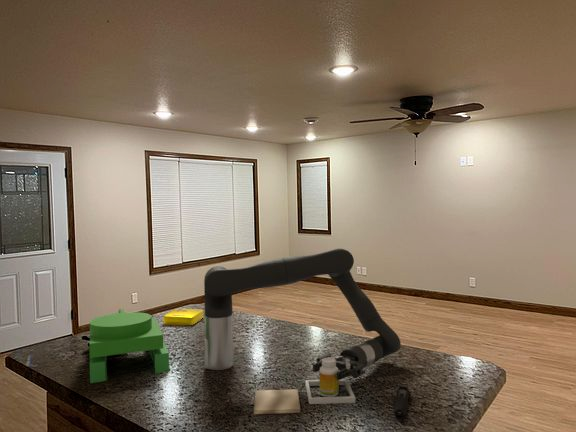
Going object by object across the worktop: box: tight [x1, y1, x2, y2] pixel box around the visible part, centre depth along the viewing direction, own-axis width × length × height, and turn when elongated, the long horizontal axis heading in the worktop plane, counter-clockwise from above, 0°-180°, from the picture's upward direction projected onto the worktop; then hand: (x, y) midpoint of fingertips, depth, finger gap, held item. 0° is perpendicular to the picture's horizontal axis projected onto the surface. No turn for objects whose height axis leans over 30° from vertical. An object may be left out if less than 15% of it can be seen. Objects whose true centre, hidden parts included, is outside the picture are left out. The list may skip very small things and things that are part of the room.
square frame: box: [304, 378, 356, 405], centre depth 124 cm, size 13×13×1 cm
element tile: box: [162, 308, 204, 326], centre depth 205 cm, size 15×15×5 cm
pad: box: [253, 388, 301, 415], centre depth 118 cm, size 12×12×1 cm
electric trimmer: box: [393, 385, 411, 417], centre depth 116 cm, size 4×16×3 cm, turn 160°
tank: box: [89, 308, 171, 384], centre depth 154 cm, size 24×35×16 cm
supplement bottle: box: [319, 358, 340, 397], centre depth 124 cm, size 5×5×10 cm
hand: (325, 372), depth 123 cm, fingers open, 8 cm apart
